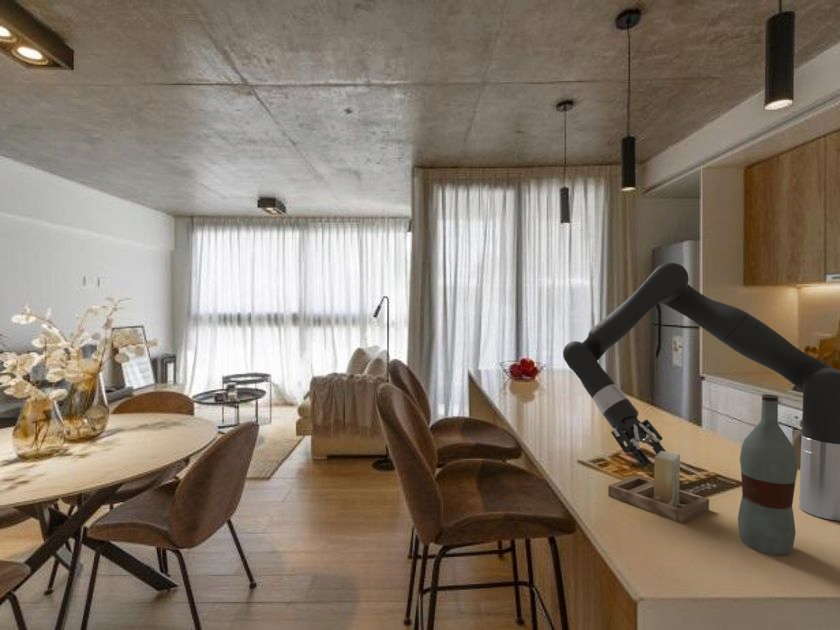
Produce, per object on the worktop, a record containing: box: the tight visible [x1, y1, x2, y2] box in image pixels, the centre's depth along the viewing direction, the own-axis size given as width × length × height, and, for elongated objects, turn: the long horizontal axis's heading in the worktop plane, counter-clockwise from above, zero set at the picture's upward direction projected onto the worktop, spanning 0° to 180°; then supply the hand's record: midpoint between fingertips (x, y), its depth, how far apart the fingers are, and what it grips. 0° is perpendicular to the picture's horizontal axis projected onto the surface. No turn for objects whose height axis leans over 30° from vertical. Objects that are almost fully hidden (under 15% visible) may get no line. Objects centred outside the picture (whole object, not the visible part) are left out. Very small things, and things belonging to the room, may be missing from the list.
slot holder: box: [607, 475, 710, 524], centre depth 115 cm, size 18×12×2 cm
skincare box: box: [653, 450, 681, 508], centre depth 113 cm, size 6×4×12 cm
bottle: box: [737, 393, 799, 556], centre depth 95 cm, size 9×9×30 cm
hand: (657, 462), depth 115 cm, fingers open, 8 cm apart
